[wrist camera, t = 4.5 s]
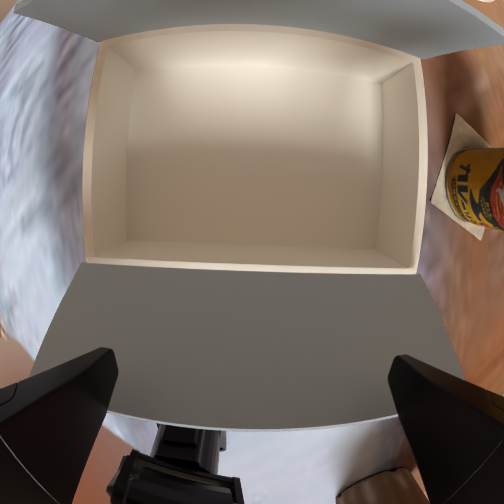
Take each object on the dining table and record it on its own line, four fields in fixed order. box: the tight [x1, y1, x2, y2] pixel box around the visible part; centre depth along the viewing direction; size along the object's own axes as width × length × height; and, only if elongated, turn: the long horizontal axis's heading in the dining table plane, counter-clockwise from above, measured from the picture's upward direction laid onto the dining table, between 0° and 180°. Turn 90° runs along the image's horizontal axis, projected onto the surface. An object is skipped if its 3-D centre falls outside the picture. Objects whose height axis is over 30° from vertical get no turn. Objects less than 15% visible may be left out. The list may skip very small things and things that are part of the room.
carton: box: [82, 24, 428, 274], centre depth 14 cm, size 13×18×5 cm
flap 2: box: [29, 263, 465, 432], centre depth 10 cm, size 7×18×1 cm
